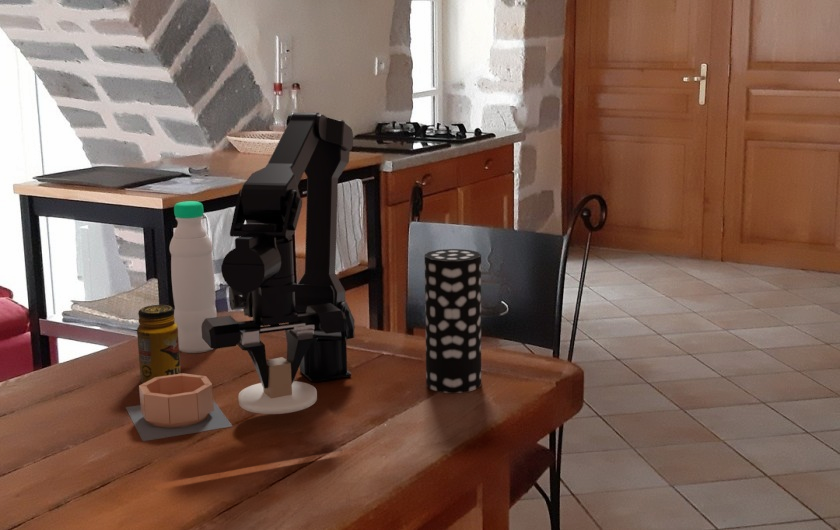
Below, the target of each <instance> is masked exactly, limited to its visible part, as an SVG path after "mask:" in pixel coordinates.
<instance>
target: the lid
mask: <svg viewBox="0 0 840 530" xmlns="http://www.w3.org/2000/svg"><path fill="white" fill-rule="evenodd" d="M266 363H267V374H268V387H267V388H264V387H263V386H262V383H261V382H259V383H255V384H252V385H249V386H247V387H245V388H243V389H242V390H241V391H240V392H239V393H238V406H240V408H242V409H243V410H245V411H248V412H250V413H254V414H261V415H262V414H264V415H280V414H281V415H282V414H283V415H284V414H289V413H294V412H300V411H302V410H305V409H308V408H309V407H311V406H313V405H314V404H316V402H317V400H318V391H317V389H316V387H315V386H314V385H311V384H310V383H308V382H304V381H297V380H294V381H293V383H292V381H291V363H290V362H289V361H287V358H284V357H283V356H282V357H281V356H280V357H277V358H276V357H275V358H270V359H266Z"/></svg>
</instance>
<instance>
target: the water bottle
mask: <svg viewBox="0 0 840 530" xmlns="http://www.w3.org/2000/svg"><path fill="white" fill-rule="evenodd" d="M173 212H174V216H175V220H176V222H177V226H176V228H175V229H174V232H173V236H172V238H171V240H170V242H169V253H170V256H171V257H170V258H171V260H170V271H171V275H170V276H171V286H172V287H171V288H172V290H171V291H172V298H173V299H172V300H173V305H174V309H173V310H174V317H175V321H174V322H175V323H176V324H177V326H178V340H179V352H182V353H187V354H198V353H199V354H200V353H201V354H202V353H206V352H210V351H213V350H214V348H210V347H209V345H208V344H207V343H206V342H205V341H204V340H203V339H202V328H201V326H202V323H203V321H204V320H205V319H206V318H214V317H218V315H217V309H216V305H215V303H216V283H215V282H216V280H215V267H214V260H213V258H214V257H213V247H214V245H213V241H212V240H211V237H210V236H209V234H207V233H208V232H207V229H206V228H205V227H204V225H203V223H202V220H203V218H204V217H203V216H204V214H205V213H204V205H203V203H202V202H199V201H195V200H194V201H193V200H191V201H189V200H188V201H187V200H186V201H180V202H177V203H175V204H174V207H173Z"/></svg>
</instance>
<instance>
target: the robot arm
mask: <svg viewBox="0 0 840 530" xmlns="http://www.w3.org/2000/svg"><path fill="white" fill-rule="evenodd" d="M285 123H286V126H285V129H284V131H283V134H281V138H280V139H279V141H278V142H277V145H276V147H275V148H274V151H273V153H272V154H271V156H270V158H269V160H268V162H267V163H266V166H265V167H263V168H261V169H259V170H256V171H253V172H252V173H251V174H250V175H249V177H248V178H247V179H246V181H245V182H244V183H243V185H242V187H241V189H239V191H238V193H237V197H236V202H235V206H234V207H235V208H234V211H233V216H232V220H231V221H232V222H231V225H230V229H229V236H230V237H233V238H234V237H235V239H234V245H235V246H234V248H233V249H231V250H229V252H228V253H226V254H225V255H224V257H223V260H222V263H221V266H220V267H221V269H220V271H221V275H222V278H223V280H224V282H225V283H226V284H227V286H228V301H229V308H230V310H231V311H236V310H243V314H244V316H247V317H248V318H252V320H244V321H238V322H237V320H236V319H235V318H234V317H233V316H232V315H223V316H222V315H221V316H217V317H214V318H206V319H205V320H204V321H203V323H202V326H201V328H202V339H203V340H204V341H205V342H206V343H207V344H208V345H209V347H210V348H214V349H215V350H217V349H224V348H230V347H237V346H238V347H239V348H240V349H241V350H242V351H245V352H247V353H248V355H249V357H250V359H251V360H252V364H253V366H254V369H255V370H256V373H257V376H258V378H259V381H260V383H262V386H263V387H264V388H267V387H268V374H267V363H266V360H267V353H266V345H265V343H264V342H262V341H261V335H260V334H268V333H275V332H282V331H284V332H285V338H286V360H287V361H289V362H290V363H291V381H292V383H293V381H295V377H296V376H297V373H298V370H299V371H300V372H301V373H302V374H303V376H305V377H306V378H307V379H308V380H309V381H310V382H312V383H316V382H322V381H323V382H324V381H329V380H336V379H341V378H349V377H352V373H351V371H350V370H348V355H347V354H348V352H347V351H348V350H347V341H348V340H350V339H355V335H356V334H355V328H356V327H355V318H354V316H353V313H352V311H351V309H350V306H349V305H348V302H347V301H346V290H345V288H344V286H343V285H342V283H341V281H340V279H339V278H338V276H337V274H336V264H337V263H336V262H337V258H336V257H337V226H338V225H337V222H338V219H337V218H338V190H339V189H338V188H339V187H338V184H339V178H340V176H341V175H342V174H343V172H344V170H345V169H346V167H347V166H348V164H349V162H350V151H352V149H353V145H354V133H353V130H352V128H351V126H350V125H348V124H347V123H346V122H345V120H343V119H334V118H331V117H327V116H326V115H325V114H321V113H320V112H293V113H291V114H288V115H287V118H286V122H285ZM304 174H305V175H306V181H307V183H306V212H305V214H306V218H305V221H306V222H305V248H304V249H305V252H304V254H305V255H304V258H305V259H304V274H303V275H302V277H301V278H300V280H299V282H298V283H296V282H295V269H294V247H293V244H294V243H293V235H294V234H295V231H296V230H297V225H298V224H299V223H298V222H299V219H300V215H301V211H302V207H303V200H302V198H301V194H300V192H299V191H300V190H299V187H298V186H299V184H300V182H301V179H302V177H303V175H304ZM214 349H213V350H214Z"/></svg>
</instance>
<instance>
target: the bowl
mask: <svg viewBox="0 0 840 530" xmlns="http://www.w3.org/2000/svg"><path fill="white" fill-rule="evenodd" d="M180 373H181V372H180ZM138 391H139V401H140V404H139V405H141V413H142V415H143V417H144V418H145V420H146V421H147V422H148V423H149V424H151V425H153V426H157V427H165V428H175V427H184V426H189V425H193V424H196V423H199V422H201V421H203V420H205V419H206V418H207V417H208V415H209V413H210V412H212V411H213V410H214V406H213V401H214V391H213V383H212V382H211V381H210V379H209V378H208V376H206V375H199V374H191V373H184V372H183V373H181V374H174V375H167V376H160V377H155V378H153V379H151V380H149V381H147V382H145V383H141V384H140V385H138Z"/></svg>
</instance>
